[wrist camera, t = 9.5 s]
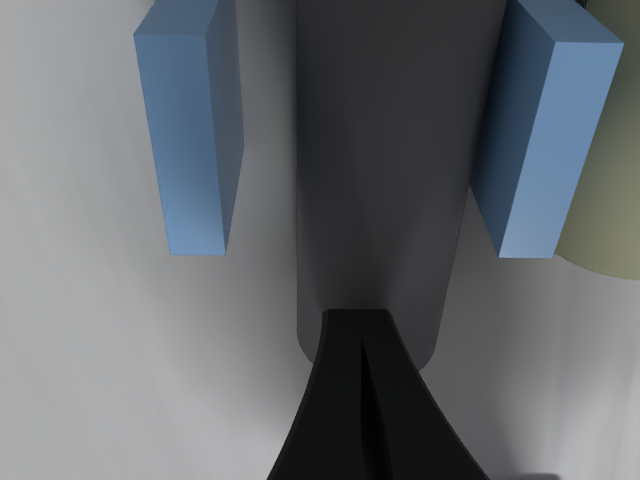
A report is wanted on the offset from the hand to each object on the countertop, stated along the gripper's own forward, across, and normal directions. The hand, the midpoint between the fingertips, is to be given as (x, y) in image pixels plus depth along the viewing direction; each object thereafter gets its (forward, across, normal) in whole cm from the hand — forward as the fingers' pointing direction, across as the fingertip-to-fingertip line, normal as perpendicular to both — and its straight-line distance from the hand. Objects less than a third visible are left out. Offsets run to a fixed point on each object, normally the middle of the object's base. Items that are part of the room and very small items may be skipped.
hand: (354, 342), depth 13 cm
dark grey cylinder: (+4, 0, -3) cm, 5 cm away
